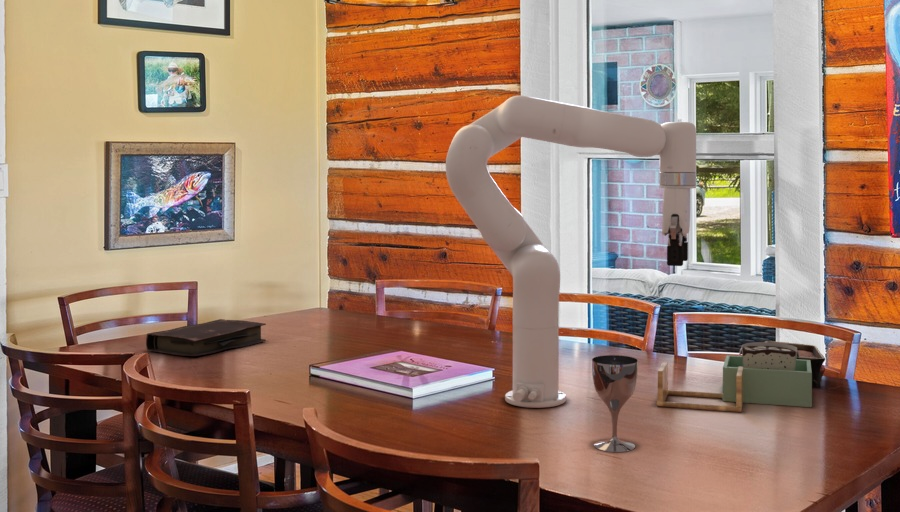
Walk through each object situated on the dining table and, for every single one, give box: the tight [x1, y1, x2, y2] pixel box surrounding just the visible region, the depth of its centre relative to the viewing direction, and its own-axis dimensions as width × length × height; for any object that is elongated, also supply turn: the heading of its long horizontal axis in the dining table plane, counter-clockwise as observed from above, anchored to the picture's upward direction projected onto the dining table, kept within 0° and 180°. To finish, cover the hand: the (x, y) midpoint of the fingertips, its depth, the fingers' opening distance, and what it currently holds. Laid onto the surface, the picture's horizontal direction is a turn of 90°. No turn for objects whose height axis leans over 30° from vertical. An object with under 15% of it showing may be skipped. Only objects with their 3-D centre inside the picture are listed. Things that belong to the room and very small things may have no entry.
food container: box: [738, 341, 800, 371], centre depth 203 cm, size 12×6×10 cm, turn 84°
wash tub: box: [722, 354, 813, 408], centre depth 203 cm, size 13×18×7 cm
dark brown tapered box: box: [765, 340, 826, 388], centre depth 218 cm, size 14×18×10 cm
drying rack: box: [656, 361, 744, 413], centre depth 198 cm, size 11×17×7 cm, turn 74°
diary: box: [145, 318, 267, 357], centre depth 255 cm, size 19×25×5 cm
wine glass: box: [591, 354, 639, 453], centre depth 169 cm, size 8×8×15 cm
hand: (677, 263), depth 201 cm, fingers open, 9 cm apart
